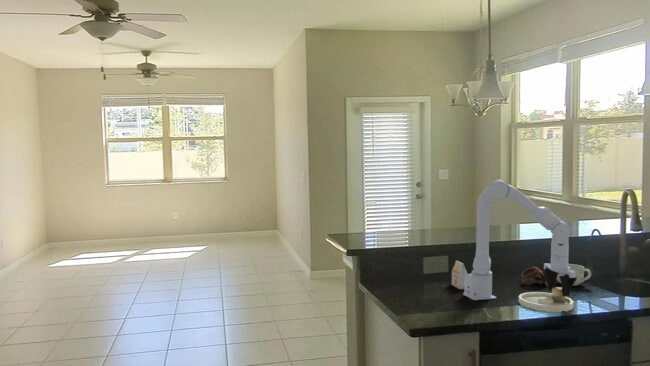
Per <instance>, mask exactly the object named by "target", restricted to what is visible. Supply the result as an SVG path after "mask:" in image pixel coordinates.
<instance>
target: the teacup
mask: <svg viewBox="0 0 650 366" xmlns="http://www.w3.org/2000/svg"><path fill="white" fill-rule="evenodd" d="M568 267H570V269H571V270H572V271H574V272H576V277H577V280H576V281H575V282H574V284H573V286H575V287H576V286H577V287H578V286H579V285H580V284H582V283H584V282H585V281H586V280H587V281H588V280H589V279H590V278H591V276H592V272H591V270H590V269H589V268H585V266H583V265H580V264H574V263H568ZM585 272H587V276H585V277H584V274H585ZM559 276H565V275H563V274H560V273H558V275H557V279H556V281H557V282H559V284H561V280H560V278H559ZM573 286H572V287H573Z"/></svg>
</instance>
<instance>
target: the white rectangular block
mask: <svg viewBox="0 0 650 366" xmlns="http://www.w3.org/2000/svg"><path fill="white" fill-rule="evenodd" d="M467 271H468V270H467V269H466V267H465V263H463V262H461V261H459V260H455V262H454V265H453V267H452V269H451V286H453V287H455V288H456V289H458V290H464V281H465V276H466V275H467V274H469V273H468V272H467Z"/></svg>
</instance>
